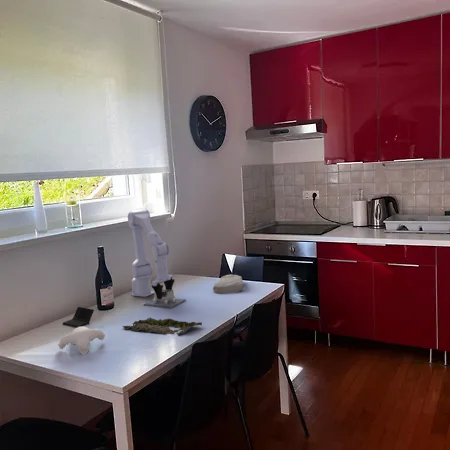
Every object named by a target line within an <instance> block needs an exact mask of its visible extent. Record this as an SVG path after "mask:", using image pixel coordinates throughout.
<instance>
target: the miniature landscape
mask: <svg viewBox="0 0 450 450" xmlns="http://www.w3.org/2000/svg"><path fill="white" fill-rule="evenodd" d="M132 324H133V326H132V325H131V326H130V325H129V326H128V325H123V326H122V327H123V329H124V330H125V331H128V330H130V331H134V332H140V331H143V333H148V334H150V333H156V334H158V335H175V333H176V335H177V336H180V334H182V335H183V334H185V333H186V332H187V331H188V330H190V329H191V328H192V327H193V328H194V327H195V326H196V327H197V326H202V325H203V322H201V321H200V322H196V321H191V322H188V321H178V320H176V319H172V318H165V319H161V318H159V319H155V318H153V317H148V318H146V319H142V320H141V319H138V321H137V320H134V322H132ZM171 328H174V329H171Z"/></svg>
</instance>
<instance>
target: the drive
mask: <svg viewBox="0 0 450 450" xmlns="http://www.w3.org/2000/svg"><path fill="white" fill-rule="evenodd" d="M174 296H175V295H174V289H172V290H168V289H166V288H165V289H164V288H163V289H162V299H157V296H156V293H154V297H155V299H156V302H160V303H165V300H167V303H171V302H173V298H174Z"/></svg>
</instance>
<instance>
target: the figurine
mask: <svg viewBox="0 0 450 450" xmlns="http://www.w3.org/2000/svg"><path fill="white" fill-rule="evenodd" d="M105 336H106V334H105V333H104V331H103V330H102V329H100V328H95V329H94V328H89V327H86V326H82V327H78V328H77V327H74V329H73V330H72V331H71V332H69V334H67V335H63V336H62V337H61V338H60V340H59V343H58V344H57V346H58V347H59V349H61V350H63V349H64V348H66V347H67V346H68V345H69V344H70V345H74V346H77V348H78V350H79V352H80V354H82V355H86V354H87V353H88V352H89V349H90V344H91V342H92V341H94V340H96V339H97V340H101V341H103V340H104V339H105Z"/></svg>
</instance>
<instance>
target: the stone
mask: <svg viewBox="0 0 450 450" xmlns="http://www.w3.org/2000/svg"><path fill="white" fill-rule="evenodd" d="M212 290H213V292H214V293H215V294H233V293H232V292H234V293H239V292H241V290H242V291H243V290H244V281H243V278H242V276H240V275H238V274H231V273H230V274H226V275H222V276H221V277H220V279H219V280H217V282H215V283H214V285H213V287H212Z"/></svg>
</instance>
